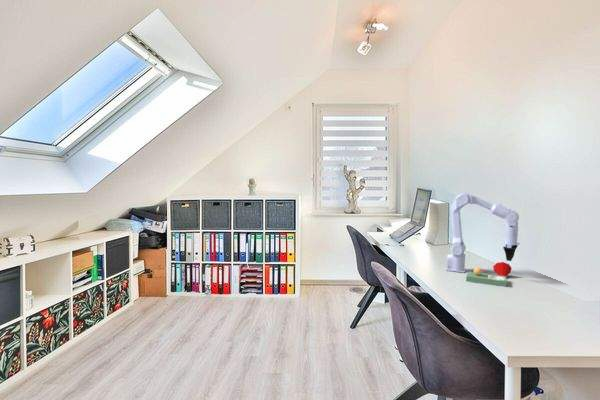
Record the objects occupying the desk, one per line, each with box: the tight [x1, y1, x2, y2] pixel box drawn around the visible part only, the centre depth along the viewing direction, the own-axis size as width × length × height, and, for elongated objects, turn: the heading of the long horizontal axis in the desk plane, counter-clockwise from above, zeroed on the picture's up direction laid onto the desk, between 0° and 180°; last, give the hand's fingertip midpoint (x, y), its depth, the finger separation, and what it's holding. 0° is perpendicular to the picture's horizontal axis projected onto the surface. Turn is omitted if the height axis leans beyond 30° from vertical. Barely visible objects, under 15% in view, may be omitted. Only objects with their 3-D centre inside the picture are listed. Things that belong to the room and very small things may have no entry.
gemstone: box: [492, 261, 513, 277], centre depth 195 cm, size 9×9×10 cm
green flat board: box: [465, 271, 508, 288], centre depth 187 cm, size 18×11×2 cm, turn 62°
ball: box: [473, 267, 483, 275], centre depth 189 cm, size 4×4×4 cm
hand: (509, 259), depth 193 cm, fingers open, 7 cm apart
